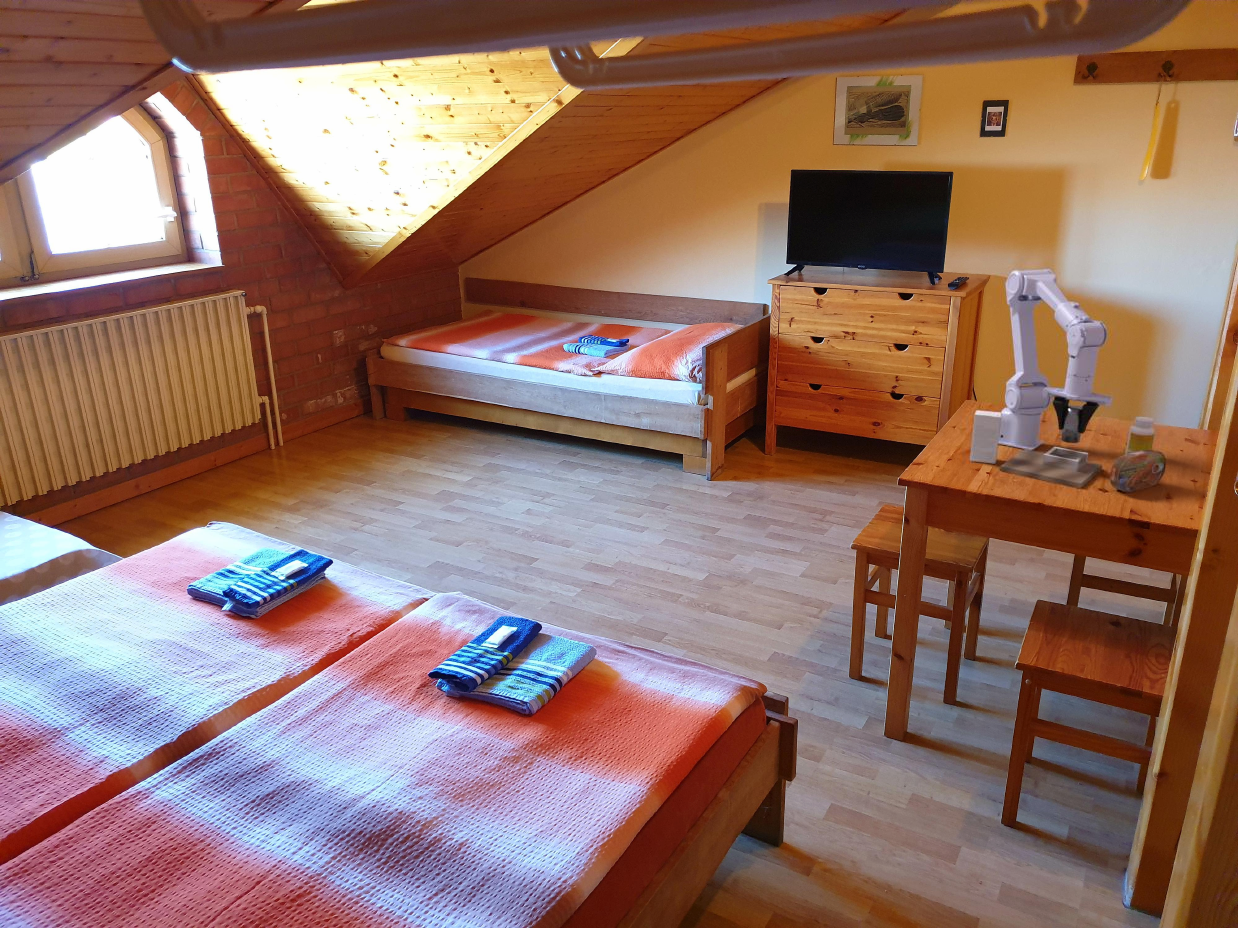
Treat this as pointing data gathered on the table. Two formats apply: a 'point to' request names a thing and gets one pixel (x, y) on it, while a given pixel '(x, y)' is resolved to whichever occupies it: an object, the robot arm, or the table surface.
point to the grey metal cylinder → (1072, 424)
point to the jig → (1053, 466)
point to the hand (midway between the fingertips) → (1071, 430)
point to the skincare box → (985, 436)
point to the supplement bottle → (1140, 435)
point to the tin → (1137, 470)
